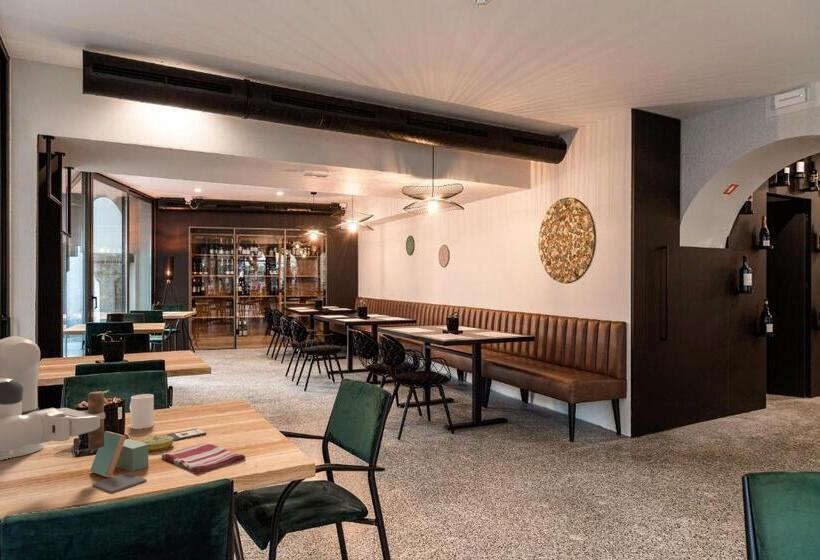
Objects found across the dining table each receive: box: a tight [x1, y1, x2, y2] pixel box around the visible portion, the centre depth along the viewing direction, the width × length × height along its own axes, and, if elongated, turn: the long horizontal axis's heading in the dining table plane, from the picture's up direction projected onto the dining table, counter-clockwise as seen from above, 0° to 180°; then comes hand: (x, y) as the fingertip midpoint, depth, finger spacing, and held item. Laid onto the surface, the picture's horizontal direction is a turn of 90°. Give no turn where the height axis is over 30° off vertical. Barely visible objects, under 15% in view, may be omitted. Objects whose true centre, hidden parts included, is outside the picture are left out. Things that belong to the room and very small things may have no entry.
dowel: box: [87, 390, 105, 450], centre depth 158 cm, size 4×4×16 cm
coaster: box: [92, 472, 147, 494], centre depth 153 cm, size 10×10×1 cm
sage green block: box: [115, 438, 149, 472], centre depth 167 cm, size 5×11×7 cm, turn 58°
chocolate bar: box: [165, 428, 207, 442], centre depth 197 cm, size 9×1×18 cm
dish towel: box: [161, 442, 246, 475], centre depth 173 cm, size 17×23×3 cm
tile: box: [89, 430, 127, 478], centre depth 161 cm, size 2×9×12 cm, turn 58°
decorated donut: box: [140, 434, 175, 453], centre depth 185 cm, size 10×11×4 cm
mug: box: [129, 393, 155, 430], centre depth 213 cm, size 12×8×12 cm
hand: (99, 413), depth 159 cm, fingers closed on dowel, 4 cm apart
